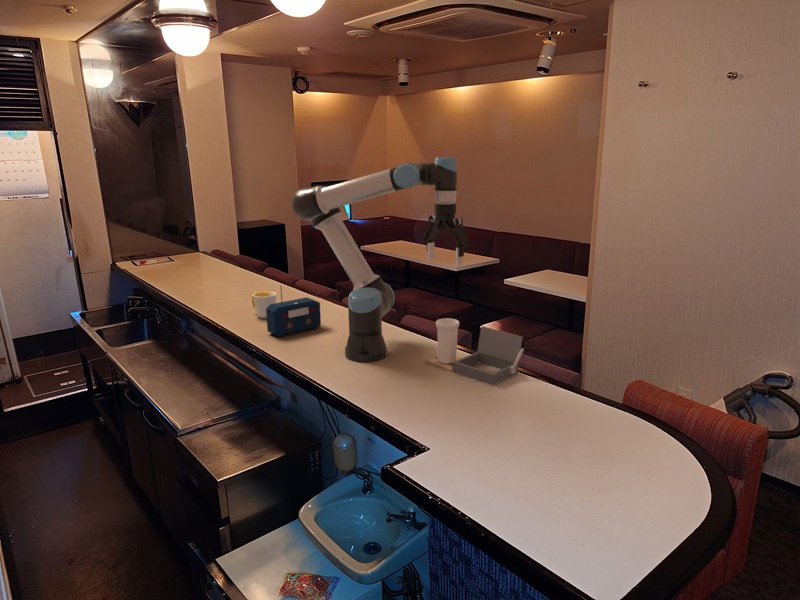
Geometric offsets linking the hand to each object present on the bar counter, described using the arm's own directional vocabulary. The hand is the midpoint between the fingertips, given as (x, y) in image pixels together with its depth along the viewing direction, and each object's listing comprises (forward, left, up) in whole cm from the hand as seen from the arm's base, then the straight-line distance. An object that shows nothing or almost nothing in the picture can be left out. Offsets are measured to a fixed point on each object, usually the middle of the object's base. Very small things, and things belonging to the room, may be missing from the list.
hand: (444, 263), depth 194 cm
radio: (-26, +57, -32) cm, 70 cm away
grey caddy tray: (-8, -26, -32) cm, 42 cm away
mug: (-23, +85, -32) cm, 94 cm away
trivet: (-10, -11, -32) cm, 36 cm away
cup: (-10, -10, -32) cm, 35 cm away
